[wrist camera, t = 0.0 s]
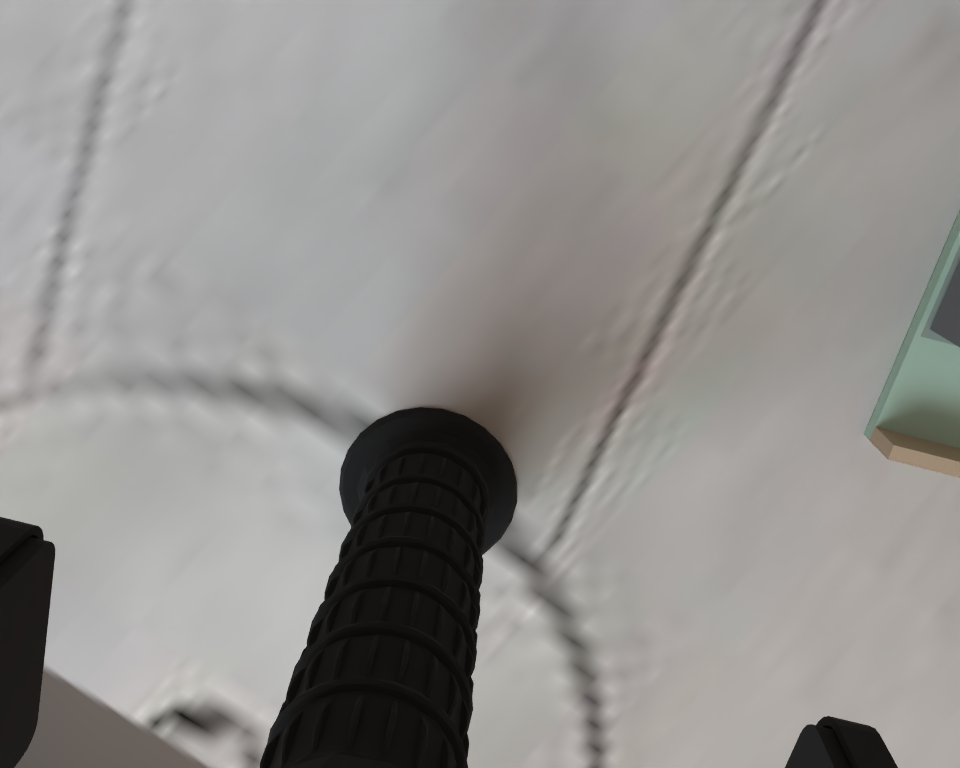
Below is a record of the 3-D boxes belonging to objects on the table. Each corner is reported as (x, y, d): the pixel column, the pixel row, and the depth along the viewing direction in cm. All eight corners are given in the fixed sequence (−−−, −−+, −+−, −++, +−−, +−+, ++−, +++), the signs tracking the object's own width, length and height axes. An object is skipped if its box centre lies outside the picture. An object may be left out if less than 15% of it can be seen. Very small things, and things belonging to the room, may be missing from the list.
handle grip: (420, 371, 48) (303, 492, 51) (312, 686, 23) (93, 892, 26) (553, 489, 50) (433, 599, 53) (586, 898, 25) (355, 1069, 28)
